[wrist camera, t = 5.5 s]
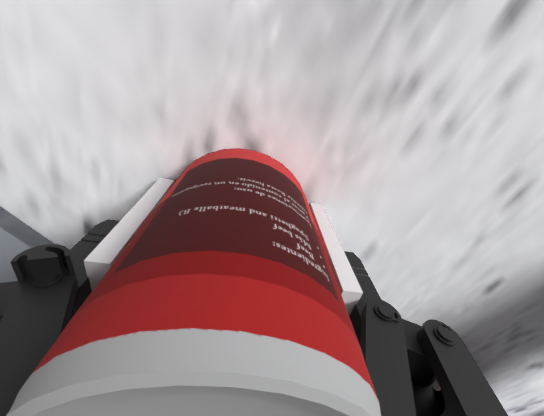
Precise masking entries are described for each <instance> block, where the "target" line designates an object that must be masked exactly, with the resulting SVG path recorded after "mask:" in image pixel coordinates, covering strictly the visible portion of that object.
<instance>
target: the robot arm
mask: <svg viewBox="0 0 544 416" xmlns="http://www.w3.org/2000/svg"><path fill="white" fill-rule="evenodd" d="M173 185H174V180H169V179H163V178H159V179H158V180H157V181H156V182H155V184H154V185H153V186H152V187H151V188H150V189H149V190H148V191H147V192H146V193H145V194H144V196H143V197H142V198H141V199H140V200H139V201H138V202H137V203H136V204H135V205H134V206H133V208H132V209H131V210H130V211H129V212H128V213H127V214H126V215H125V216H124V217H123V218H122V219H121V221H116V220H106V221H104V222H102V223H100V224H98V225H96V226H95V227H94V228H93V229H92V230H91V231H90V232H89V233H88V235H85V236H84V237H83V238H82V239H81V241H79V242H78V243H77V244H76V245H75V246H74V247H73V248H72V249H71V250H69V249H68V248H66V247H65V246H61V245H58V244H47V245H41V246H36V247H33V248H30V249H27V250H25V251H23V252H21V253H20V254H18V255H16V256H15V257H14V258H13V259H12V261H11V262H10V263H11V265H12V267H13V270H14V272H15V275H16V277H17V280H18V281H13V282H4V283H0V416H6V415H7V413H8V412H9V411H10V409H11V407H12V405H13V403H14V401H15V399H16V397H17V394H18V392H19V391H20V389H21V388H22V387H23V385H24V384H25V382H26V381H27V379H28V378H29V377H30V375H31V374H32V372H33V371H34V370H35V368H36V367H37V366H38V364H39V363H40V362H41V360H42V359H43V358H44V356H45V355H46V354H47V352H48V351H49V350H50V348H51V347H52V346H53V344H54V343H55V342H56V340H57V339H58V337H59V336H60V334H61V333H62V331H63V330H64V329H65V327H66V326H67V324H68V323H69V321H70V320H71V319H72V317H73V316H74V314H75V313H76V312H77V310H78V309H79V308H80V307H81V305H82V304H83V303H84V301H85V300H86V299H87V297H88V296H89V295H90V293H91V292H92V291H93V290H94V288H95V287H96V286H97V284H98V283H99V282H100V280H101V279H102V278H103V276H104V275H105V274H106V272H107V271H108V270H109V269H110V267H111V266H112V265H113V263H114V262H115V261H116V259H117V258H118V257H119V255H120V254H121V253H122V251H123V250H124V249H125V248H126V246H127V245H128V244H129V242H130V241H131V240H132V238H133V237H134V236H135V234H136V233H137V232H138V230H139V229H140V228H141V227H142V225H143V224H144V223H145V221H146V220H147V219H148V217H149V216H150V215H151V213H152V212H153V211H154V210H155V208H156V207H157V206H158V204H159V203H160V202H161V200H162V199H163V198H164V196H165V195H166V194H167V192H168V191H169V190H170V189H171V187H172V186H173ZM309 208H310V210H311V213H312V216H313V219H314V221H315V224H316V227H317V230H318V232H319V235H320V238H321V240H322V243H323V246H324V249H325V251H326V254H327V257H328V260H329V262H330V265H331V268H332V271H333V273H334V276H335V279H336V281H337V284H338V287H339V290H340V292H341V295H342V298H343V301H344V303H345V306H346V309H347V312H348V314H349V317H350V320H351V323H352V325H353V328H354V331H355V333H356V336H357V339H358V342H359V344H360V347H361V350H362V354H363V357H364V361H365V364H366V367H367V369H368V372H369V375H370V378H371V381H372V383H373V386H374V389H375V392H376V395H377V397H378V400H379V404H380V412H381V416H508V415H507V413H506V412H505V410H504V408H503V407H502V405H501V403H500V402H499V400H498V398H497V397H496V395H495V393H494V392H493V390H492V389H491V387H490V385H489V384H488V382H487V380H486V379H485V377H484V375H483V374H482V372H481V371H480V369H479V367H478V366H477V364H476V362H475V361H474V359H473V357H472V356H471V354H470V352H469V351H468V349H467V348H466V346H465V344H464V343H463V341H462V340H461V338H460V337H459V336H458V334H457V333H456V332H455V331H453V330H452V329H451V328H450V327H449V326H447V325H445V324H444V323H442V322H439V321H437V320H427V321H426V322H425V323H424V324H423V325H422V326H419V325H417V324H414V323H412V322H409V321H406V320H404V319H402V318H401V316H400V314H399V313H398V311H397V310H396V309H395V308H394V307H393V306H391V305H390V304H388V303H387V302H385V301H383V300H381V298H380V296H379V294H378V293H377V291H376V289H375V287H374V285H373V283H372V281H371V279H370V277H369V276H368V273H367V272H366V270H365V268H364V266H363V264H362V262H361V260H360V259H359V258H358V257H357V256H356V255H355V254H354V253H353V252H345V251H344V250H343V248H342V246H341V244H340V241H339V239H338V237H337V235H336V233H335V231H334V228H333V226H332V224H331V222H330V220H329V218H328V215H327V213H326V211H325V209H324V207H323V205H322V204H316V203H310V205H309ZM436 380H437V381H438V384H439V386H440V388H441V390H439V388H438V387H437V385H436V382H435V381H436Z"/></svg>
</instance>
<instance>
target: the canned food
mask: <svg viewBox="0 0 544 416" xmlns="http://www.w3.org/2000/svg"><path fill="white" fill-rule="evenodd" d="M6 416H381V412H380V404H379V400H378V397H377V395H376V392H375V389H374V386H373V383H372V381H371V378H370V375H369V372H368V369H367V367H366V364H365V361H364V357H363V354H362V350H361V347H360V344H359V342H358V339H357V336H356V333H355V331H354V328H353V325H352V323H351V320H350V317H349V314H348V312H347V309H346V306H345V303H344V301H343V298H342V295H341V292H340V290H339V287H338V284H337V281H336V279H335V276H334V273H333V271H332V268H331V265H330V262H329V260H328V257H327V254H326V251H325V249H324V246H323V243H322V240H321V238H320V235H319V232H318V230H317V227H316V224H315V221H314V219H313V216H312V213H311V210H310V208H309V205H308V202H307V199H306V197H305V194H304V192H303V190H302V188H301V185H300V183H299V182H298V181H297V179H296V178H295V177H294V175H293V174H292V173H291V172H290V171H289V170H288V169H287V168H286V167H285V166H284V165H283V164H281V163H280V162H278V161H276V160H275V159H273V158H271V157H270V156H268V155H265V154H262V153H259V152H256V151H253V150H246V149H239V148H238V149H223V150H219V151H216V152H212V153H208V154H207V155H205V156H203V157H201V158H199V159H197V160H195V161H194V162H193V163H192V164H191V165H190V166H188V167H187V168H186V169H185V170H184V171H183V173H182V174H181V175H180V177H179V178H178V179H177V181H176V182H175V183H174V185H173V186H172V187H171V189H170V190H169V191H168V192H167V194H166V195H165V196H164V198H163V199H162V200H161V202H160V203H159V204H158V206H157V207H156V208H155V210H154V211H153V212H152V213H151V215H150V216H149V217H148V219H147V220H146V221H145V223H144V224H143V225H142V227H141V228H140V229H139V230H138V232H137V233H136V234H135V236H134V237H133V238H132V240H131V241H130V242H129V244H128V245H127V246H126V248H125V249H124V250H123V251H122V253H121V254H120V255H119V257H118V258H117V259H116V261H115V262H114V263H113V265H112V266H111V267H110V269H109V270H108V271H107V272H106V274H105V275H104V276H103V278H102V279H101V280H100V282H99V283H98V284H97V286H96V287H95V288H94V290H93V291H92V292H91V293H90V295H89V296H88V297H87V299H86V300H85V301H84V303H83V304H82V305H81V307H80V308H79V309H78V310H77V312H76V313H75V314H74V316H73V317H72V319H71V320H70V321H69V323H68V324H67V326H66V327H65V329H64V330H63V331H62V333H61V334H60V336H59V337H58V339H57V340H56V342H55V343H54V344H53V346H52V347H51V348H50V350H49V351H48V352H47V354H46V355H45V356H44V358H43V359H42V360H41V362H40V363H39V364H38V366H37V367H36V368H35V370H34V371H33V372H32V374H31V375H30V377H29V378H28V379H27V381H26V382H25V384H24V385H23V387H22V388H21V389H20V391H19V392H18V394H17V397H16V399H15V401H14V403H13V405H12V407H11V409H10V411H9V412H8V413H7V415H6Z"/></svg>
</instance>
